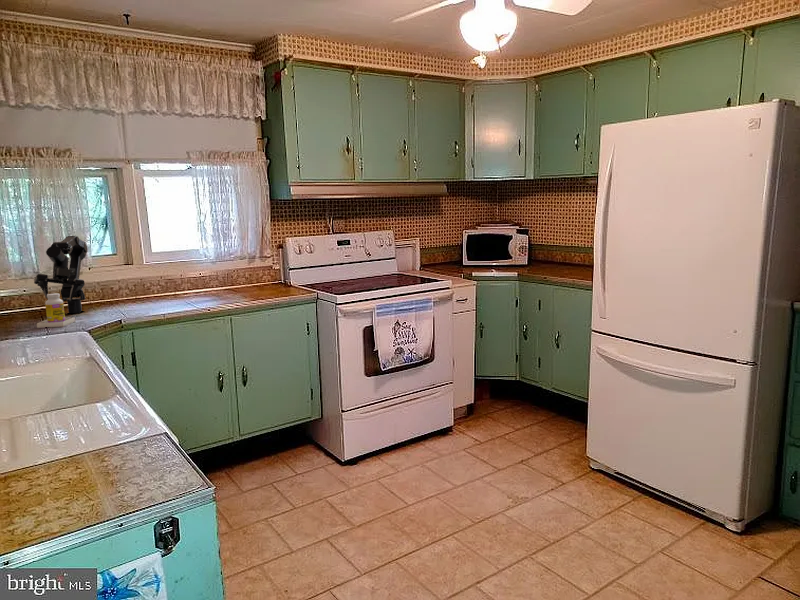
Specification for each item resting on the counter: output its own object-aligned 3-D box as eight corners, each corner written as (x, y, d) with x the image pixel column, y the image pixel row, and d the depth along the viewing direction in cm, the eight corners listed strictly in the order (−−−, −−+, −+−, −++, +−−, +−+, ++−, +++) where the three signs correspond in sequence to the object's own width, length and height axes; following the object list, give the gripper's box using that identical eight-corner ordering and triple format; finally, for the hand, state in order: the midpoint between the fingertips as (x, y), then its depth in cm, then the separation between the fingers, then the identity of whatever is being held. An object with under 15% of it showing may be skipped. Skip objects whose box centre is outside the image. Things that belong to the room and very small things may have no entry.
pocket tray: (51, 322, 251) (50, 318, 250) (76, 321, 252) (76, 317, 251) (37, 328, 239) (36, 323, 239) (63, 326, 240) (63, 322, 240)
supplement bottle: (53, 325, 241) (49, 295, 239) (44, 324, 244) (40, 294, 242) (69, 322, 246) (65, 293, 244) (60, 321, 250) (56, 292, 248)
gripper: (41, 256, 246) (38, 289, 241) (88, 263, 259) (87, 295, 253) (35, 266, 254) (32, 299, 248) (81, 273, 266) (80, 304, 261)
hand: (58, 299), depth 252 cm, fingers open, 9 cm apart
